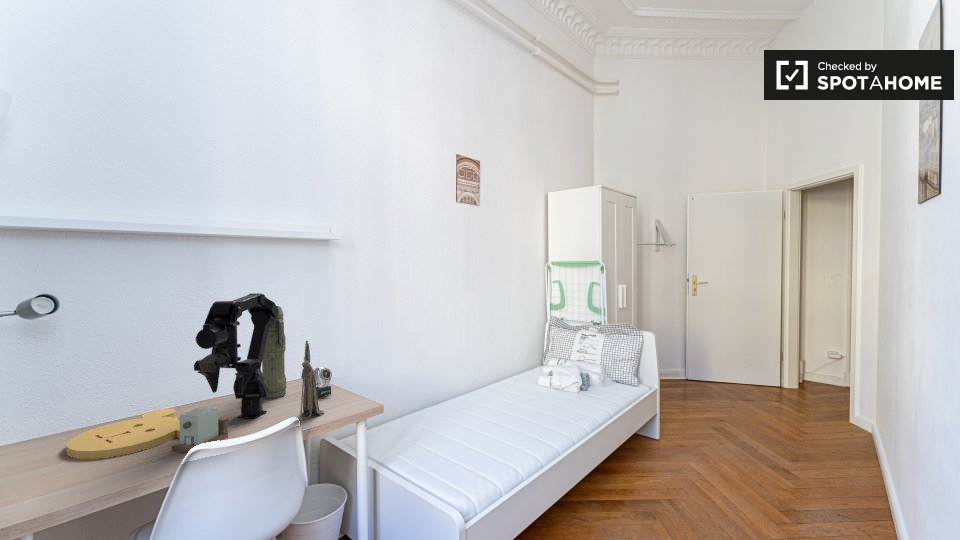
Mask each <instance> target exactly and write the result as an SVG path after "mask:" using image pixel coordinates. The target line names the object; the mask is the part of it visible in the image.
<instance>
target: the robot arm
mask: <svg viewBox="0 0 960 540" xmlns="http://www.w3.org/2000/svg"><path fill="white" fill-rule="evenodd" d="M277 306H278V305H276V303H275V302H274V301H273V300H271V299H269V298H268V297H266V295H265V294H264V293H262V292H261V293H249V294H247V295H244V296H241V297H238V298H236V299H233V300H221V301H220V300H219V301H218V300H216V301H214V302H213V303H212V305H211V306H210V309H209V310H208V313H207V316H206V318H205V321H204V323H203V325H202V329H200V330H199V331H198V332H197V334H196V336H195V342H196V345H197V346H198V347H200V348H201V349H203V350H208V349H211V352H210V354H208V355H206V356H205V357H204V358H201V359H198V360H195V362H194V364H193V371H195V372H197V373H198V374H200V375H202V376H204V377H205V379H206V380H207V383H208V385H209V387H210V390H211V391H212V393H216V392H217V391H218V387H219V377H220V372H221V369H234V370H235V371H236V372H235V373H234V375H235V380H234V383H233V388H232V389H233V392H234V397H235V399H236V400H240V401H241V403H240V414H238V415H237V416H236V417H237V418H239V419H240V418H241V419H243V418H244V419H256V418H258V417H260V416H262V415H263V414H265V413H267V410H263V397H267V394H268V387H267V386H266V385H265V383H264V382H263V381H264V376H263V374H262V369H261V368H262V359H263V355H264V350H265V345H266V341H267V336H268V331H269V329H270V328H271V327H272V326H273V325H274V324H275V322H276V319H277V316H278V314H279V310H278V307H277ZM245 311H247V312H248V313H249V314H250V320H251V323H252V325H253V330H252V333H251V338H250V343H249V347H248V352H247V356H246V359H244V360H242V357H241V356H238V355H239V354H238V352H239V350H238V348H241V343H238V326H240V324H241V323H240V322H239V320H238V319H240V317H242V316H243V312H245Z"/></svg>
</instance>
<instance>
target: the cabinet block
mask: <svg viewBox="0 0 960 540" xmlns="http://www.w3.org/2000/svg"><path fill="white" fill-rule="evenodd" d="M218 418H219V407H214V406H213V407H211V406H209V407H208V406H198V407H195V408H194V409H191V410H188V411H186V412H183V413H181V414H179V417H178V419H179V426H180V438H179V442H180V444H186V437H188V436H190V437H194V445H199V444H201V443H204V442H206V441H208V440H210V439H212V438H214V437H216V436H218Z"/></svg>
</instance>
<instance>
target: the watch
mask: <svg viewBox="0 0 960 540" xmlns="http://www.w3.org/2000/svg"><path fill="white" fill-rule="evenodd" d="M313 370H314V376H315V381H316V390H317V397H318V399H320V397H321V398H323V396H324V397H326V396H325V395H327V396H329V395H328V394H331V395H332V386H331V385H330V382H331V380H332V376H333V372H332V371H331V369H329V368H327V367H326V366H319V367H315V368H314V369H313ZM321 380H322V382H323V384H322V382H321Z"/></svg>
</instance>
